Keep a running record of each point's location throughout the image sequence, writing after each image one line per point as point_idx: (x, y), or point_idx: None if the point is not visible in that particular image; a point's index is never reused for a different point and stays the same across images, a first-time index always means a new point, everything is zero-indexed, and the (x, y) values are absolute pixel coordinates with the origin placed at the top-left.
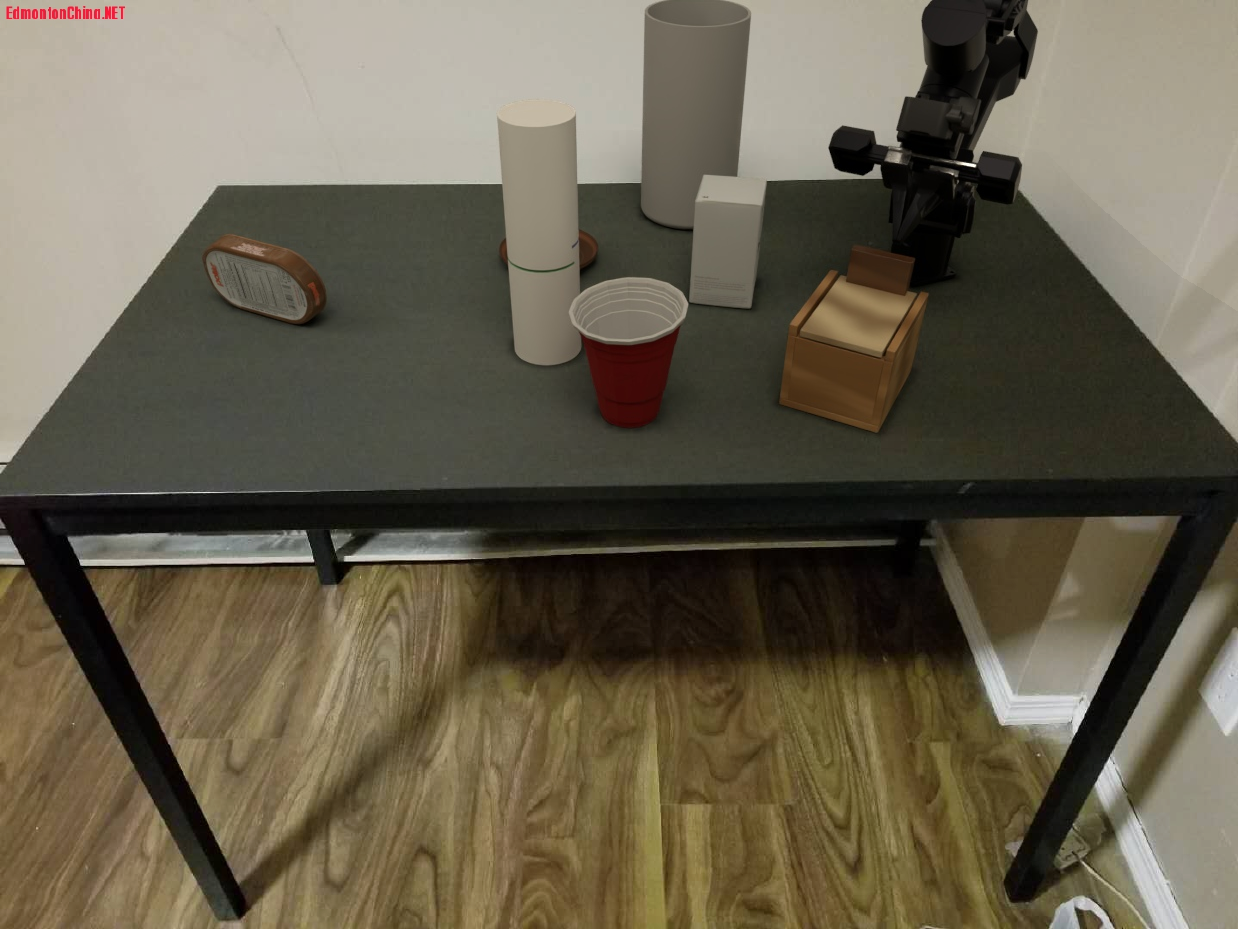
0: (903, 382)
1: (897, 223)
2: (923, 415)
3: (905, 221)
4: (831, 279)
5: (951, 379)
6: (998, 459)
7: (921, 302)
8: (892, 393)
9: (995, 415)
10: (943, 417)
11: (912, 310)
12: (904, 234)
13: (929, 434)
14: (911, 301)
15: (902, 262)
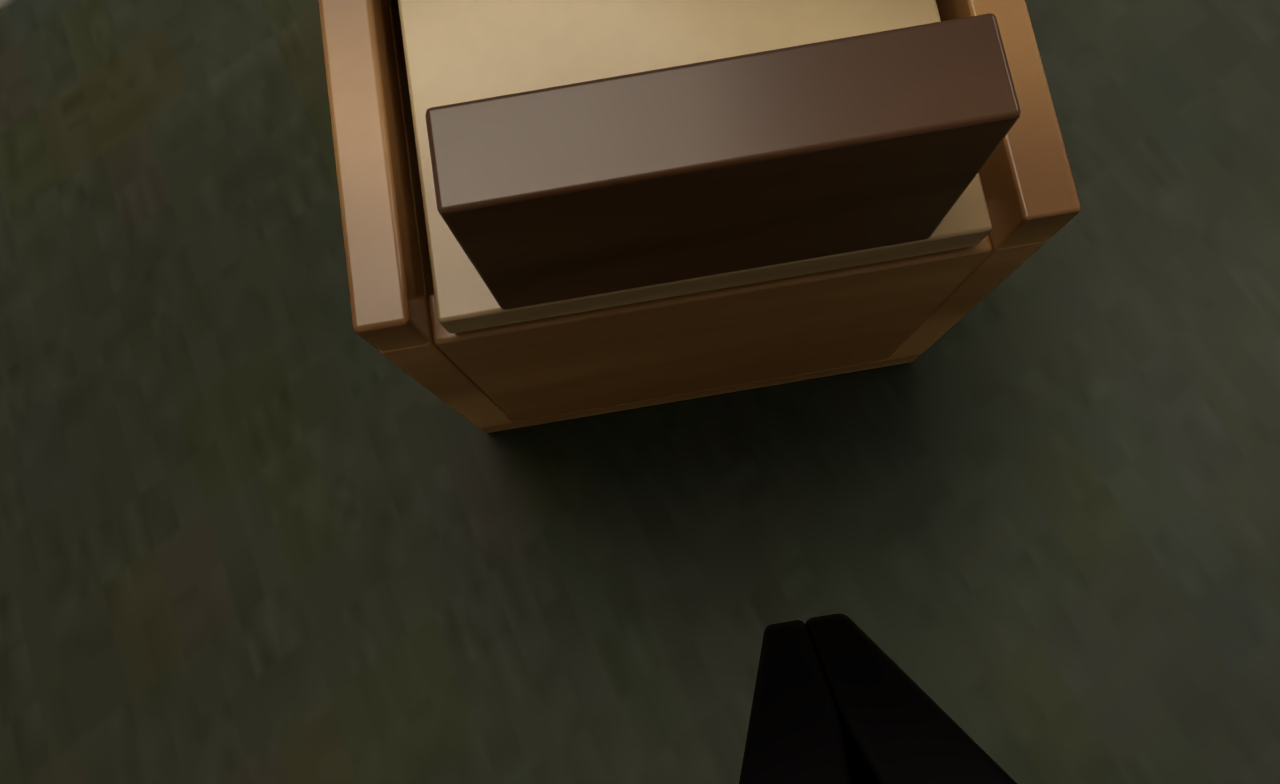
0: None
1: (892, 725)
2: (324, 178)
3: (819, 771)
4: None
5: (315, 489)
6: (5, 102)
7: (349, 182)
8: None
9: (81, 351)
10: (253, 213)
11: (360, 52)
12: (757, 677)
13: (263, 85)
14: (426, 194)
15: (511, 97)
